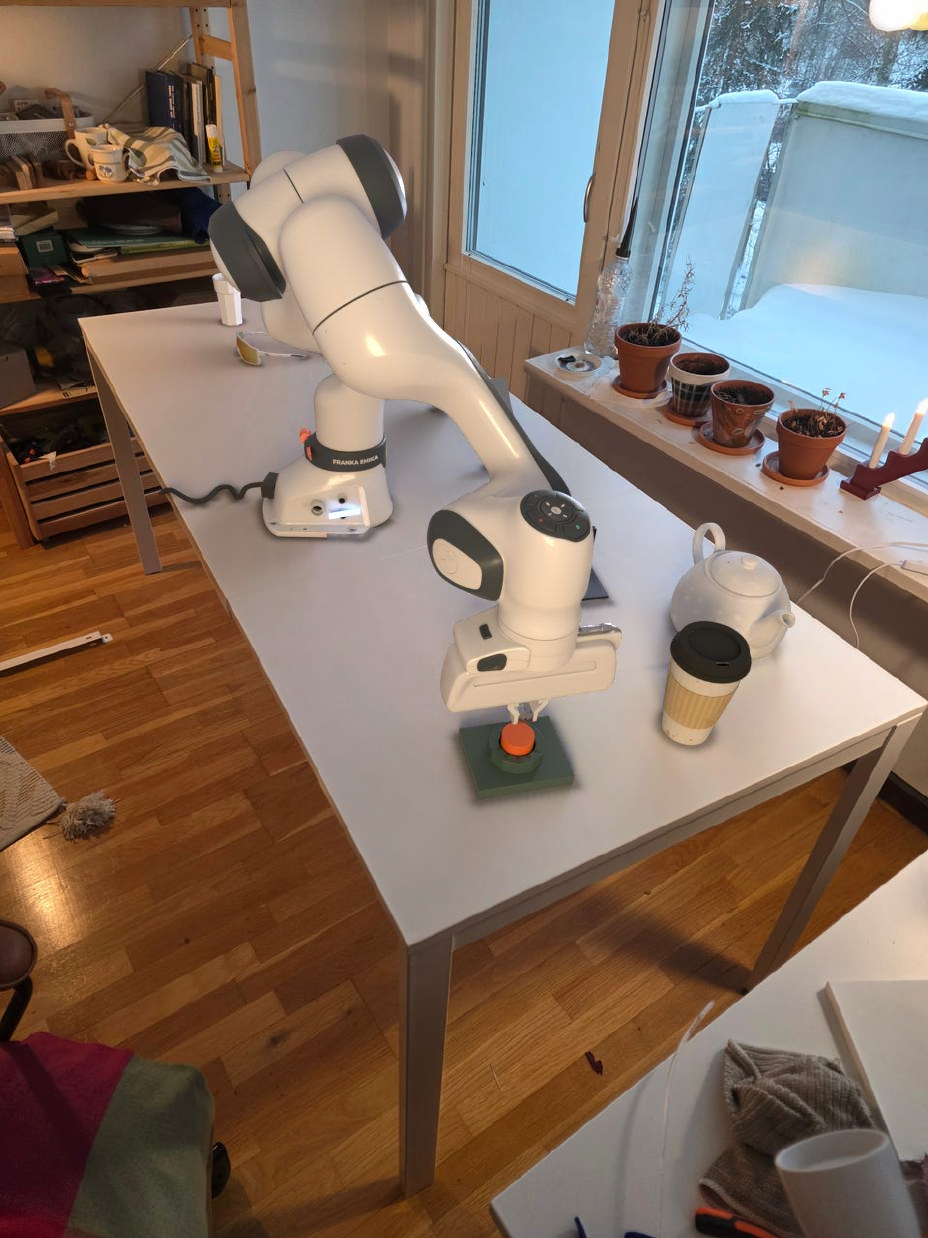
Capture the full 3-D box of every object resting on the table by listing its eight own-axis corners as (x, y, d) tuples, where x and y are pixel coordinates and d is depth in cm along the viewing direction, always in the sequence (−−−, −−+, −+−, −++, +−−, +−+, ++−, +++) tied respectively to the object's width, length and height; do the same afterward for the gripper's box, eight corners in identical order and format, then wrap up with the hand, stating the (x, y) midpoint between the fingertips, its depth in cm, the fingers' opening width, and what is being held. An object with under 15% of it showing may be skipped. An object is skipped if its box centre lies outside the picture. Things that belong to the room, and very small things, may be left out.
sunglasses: (228, 346, 191) (228, 325, 188) (289, 346, 198) (290, 326, 195) (245, 369, 182) (246, 347, 179) (309, 369, 189) (310, 348, 186)
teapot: (797, 617, 126) (827, 545, 117) (767, 686, 113) (799, 612, 105) (683, 575, 132) (704, 504, 124) (643, 636, 120) (663, 563, 111)
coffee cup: (711, 701, 111) (742, 618, 101) (731, 756, 103) (767, 673, 93) (641, 699, 110) (665, 616, 100) (656, 755, 102) (684, 671, 93)
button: (505, 758, 97) (507, 749, 95) (496, 734, 99) (498, 724, 98) (537, 753, 97) (539, 744, 96) (527, 729, 100) (529, 719, 99)
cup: (238, 315, 207) (232, 270, 200) (250, 323, 203) (245, 278, 196) (214, 319, 203) (207, 274, 196) (225, 328, 200) (219, 282, 192)
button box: (478, 800, 95) (480, 781, 93) (458, 737, 103) (460, 718, 101) (572, 784, 98) (577, 766, 96) (547, 724, 105) (550, 705, 103)
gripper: (614, 603, 92) (593, 688, 101) (439, 625, 87) (434, 711, 96) (636, 640, 87) (613, 725, 96) (452, 665, 82) (446, 752, 91)
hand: (522, 719), depth 96 cm, fingers closed
